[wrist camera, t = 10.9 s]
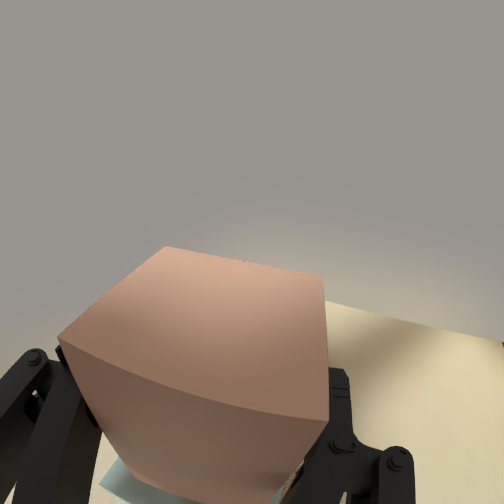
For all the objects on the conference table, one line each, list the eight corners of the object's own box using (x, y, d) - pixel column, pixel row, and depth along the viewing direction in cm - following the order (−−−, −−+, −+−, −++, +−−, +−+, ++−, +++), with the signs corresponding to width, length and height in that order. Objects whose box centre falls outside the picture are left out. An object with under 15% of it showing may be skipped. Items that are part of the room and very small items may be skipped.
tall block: (256, 514, 8) (328, 420, 4) (136, 479, 9) (57, 336, 5) (275, 425, 13) (322, 275, 10) (176, 400, 14) (165, 246, 10)
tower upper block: (251, 552, 8) (262, 550, 6) (122, 503, 10) (98, 484, 8) (283, 455, 16) (298, 426, 15) (175, 421, 18) (169, 386, 16)
